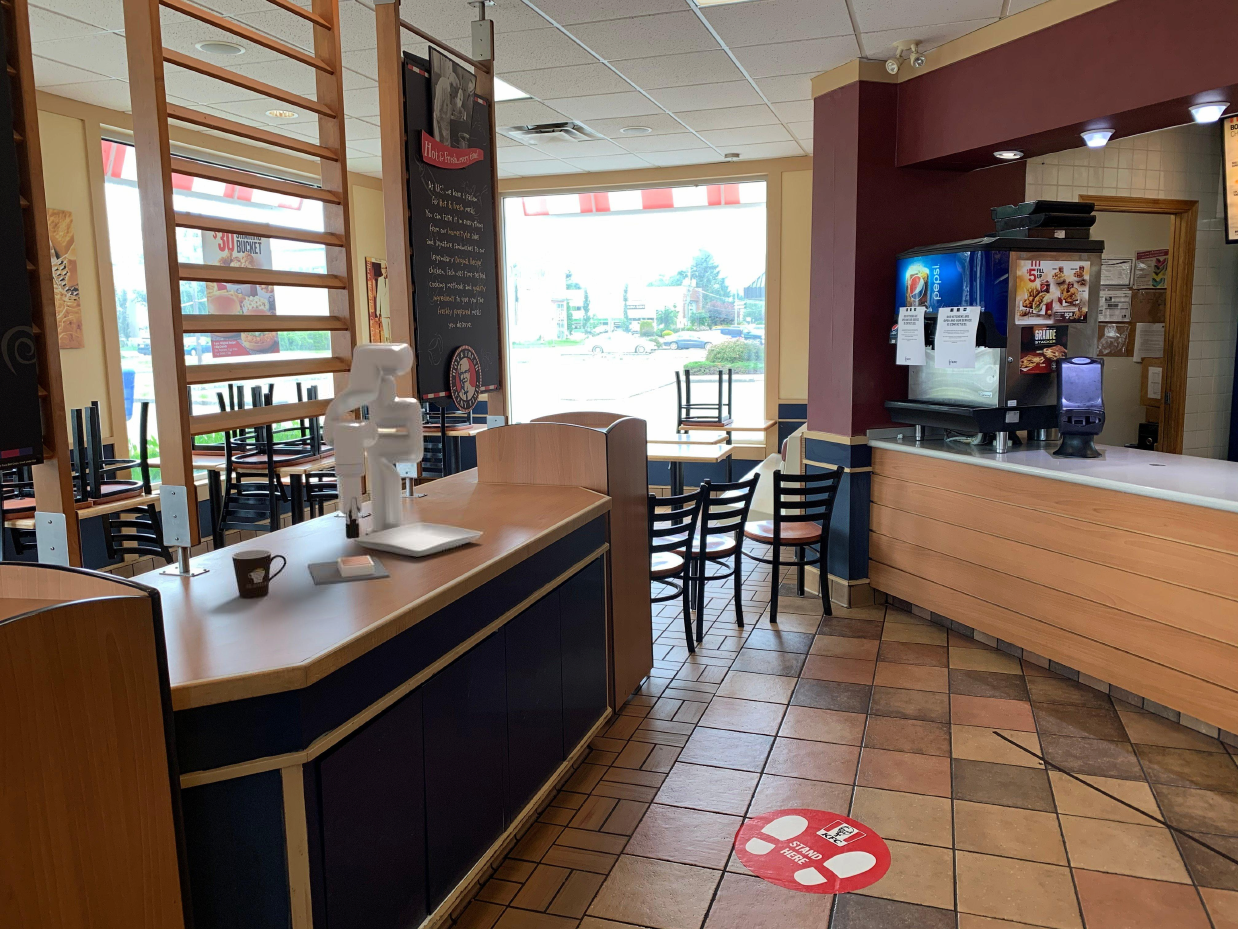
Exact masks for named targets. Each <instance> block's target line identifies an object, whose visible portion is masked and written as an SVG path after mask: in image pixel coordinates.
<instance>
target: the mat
mask: <svg viewBox="0 0 1238 929" xmlns="http://www.w3.org/2000/svg"><path fill="white" fill-rule="evenodd" d="M370 558H371V560H372V562H373V563H374V572H375V574H366V575H356V576H347V577H342V575H341V573H340V571H339V568H338V560H332V561H324V562H315V563H314V562H313V563H307V566H308V569H309V572H310V574H311V575H312V578H313V580H314V582H315V585H316V586H317V585H318V586H320V585H328V584H335V583H336V584H337V583H345V582H346V583H347V582H355V581H364V580H372V579H382V578H390V573H389V572H388V571H387V569H386V568H385V566H384V565H383V564H382V562H380V560H379V558H377V556H373V557H372V556H371V557H370Z"/></svg>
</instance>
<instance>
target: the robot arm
mask: <svg viewBox="0 0 1238 929" xmlns="http://www.w3.org/2000/svg"><path fill="white" fill-rule="evenodd" d="M352 354H353V356H352V362H351V368H350V372H349V373H350V374H349V380H348V384H347V387H346V388H345V389H344V390H342V391H341V392H340V393H339V394H338V395H336V397H334V399H333V400H331V402H329V404H328V406H327V408H326V410H325V415H324V420H323V425H322V439H323V442H324V444H326V445H327V446H328V447H331V448H333V451H334V452H333V454H334V455H333V456H334V476H335V477H338V509H339V511H340V512H341V514H342V515H345V537H346V539H348V540H351V539H353V540H354V539H355V538H359V537H360V523H359V514H361V513H362V511H363V497H362V496H363V493H362V477H364V476H365V475H366V468H365V467H366V466H365V464H366V463H365V453H366V457H367V461H368V462H367V463H368V470H369V488H370V489H369V490H370V511H371V513H370V514H371V515H370V516H371V517H370V518H371V527H369V528H367V529H366V534H367V535H370V534H373V533H377V532H381V531H384V530H388V529H392V528H397V527H401V526H404V525H403V524H404V520H403V518H404V517H403V493H402V492H403V488H402V475H401V474H400V472H399V471H398V469H397V468H396V467H395V464H416V463H419V462H420V461H422V459H423V457H424V449H425V448H424V432H423V431H424V428H423V424H424V423H423V412H422V406H421V404H420V402H419V401H418V400H417V399H415V398H411V397H398V396H397V382H396V380H395V378H394V377H395V376H403V375H405V374H406V373H408V372H409V371H410V370H411V369H412V366H413V364H414V352H413V349H412V347H411V346H410V345H409V344H407V343H399V342H396V343H395V342H394V343H393V342H390V343H389V342H388V343H387V342H383V343H382V342H368V343H360V344H357V345H355V347H354V349H353V352H352ZM393 376H394V377H393ZM366 405H368V406H367V407H368V417H369V419H342V417H343V416H344V415H346V414H347V413H349V412H351V411H353V410H356V409H358V408H361V407H364V406H366ZM379 429H383V430H384V429H387V430H388V429H390V430H392V429H394V430H396V429H397V430H400V429H401V430H405V431H406V432H379Z"/></svg>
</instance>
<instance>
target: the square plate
mask: <svg viewBox="0 0 1238 929" xmlns="http://www.w3.org/2000/svg"><path fill="white" fill-rule="evenodd" d="M483 534H484V532H483V531H478V530H473V529H468V528H463V527H457V526H453V525H452V526H451V525H445V524H437V523H427V522H417V523H412V524H406V525H403V526H401V527H397V528H392V529H388V530H384V531H381V532H377V533H373V534H370V535H369V534H367V535H364V536H359V538H353V541H354V542H355V543H356V544H358V545H360V546H362V547H364V548H368V549H373V550H378V551H383V552H387V553H393V554H399V555H404V556H410V557H419V558H420V557H422V556H423V557H424V556H429V555H433V554H436V553H440V552H443V551H446V550H450V549H453V548H457V547H460V546H463V545H466V544H467V543H470V542H473V541H475V540H477V539H478V538H480V536H481V535H483ZM462 544H463V545H462ZM459 545H460V546H459ZM456 546H457V547H456ZM449 548H450V549H449ZM445 549H446V550H445ZM442 550H443V551H442Z"/></svg>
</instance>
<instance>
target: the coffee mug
mask: <svg viewBox="0 0 1238 929" xmlns="http://www.w3.org/2000/svg"><path fill="white" fill-rule="evenodd" d="M231 558H232V563H233V568H234V575H235V579H236V584H237V590H238V594H239V595H238V596H239V598H241V599H245V600H248V599H250V600H252V599H259V598H263V597H266V596H268V595H269V591H270V590H269V589H270V582H271V581H272V580H273V579H274V578H276V577H277V576H279V574H280V573H282V571H283V570H284V569H285V567H286V564H287V559H286V557H285V556H284V555H281V554H276V555H275V554H274V556H272V552H271V551H270V550H267V549H249V550H243V551H238V552H235V553H233V554H232V555H231ZM277 558H280V559H283V564H282V566H281V568H280V569H279V570H277V572H274V574H273V575H271V564H272V562H273V560H275V559H277ZM270 575H271V576H270Z"/></svg>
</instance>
